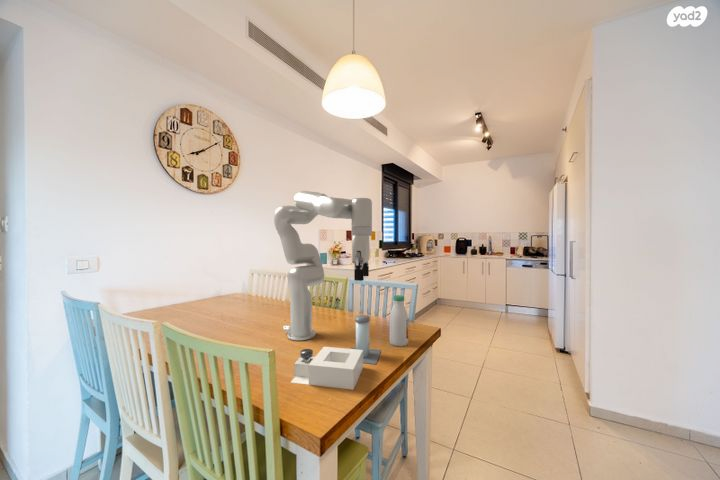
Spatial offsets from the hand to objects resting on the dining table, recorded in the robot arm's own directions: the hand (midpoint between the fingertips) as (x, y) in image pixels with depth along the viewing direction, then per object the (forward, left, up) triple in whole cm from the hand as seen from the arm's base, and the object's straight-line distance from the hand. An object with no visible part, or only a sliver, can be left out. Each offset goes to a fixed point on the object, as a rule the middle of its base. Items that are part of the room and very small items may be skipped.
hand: (361, 278), depth 106 cm
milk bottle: (+12, +17, -30) cm, 37 cm away
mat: (0, 0, -30) cm, 30 cm away
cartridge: (0, 0, -29) cm, 29 cm away
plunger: (-15, -16, -29) cm, 36 cm away
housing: (-8, -16, -30) cm, 35 cm away
